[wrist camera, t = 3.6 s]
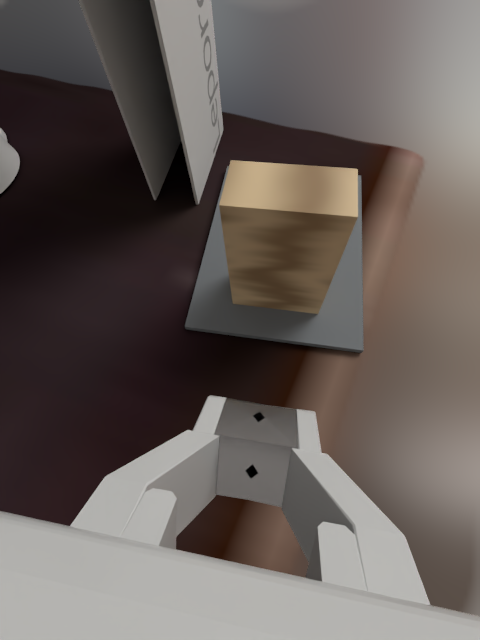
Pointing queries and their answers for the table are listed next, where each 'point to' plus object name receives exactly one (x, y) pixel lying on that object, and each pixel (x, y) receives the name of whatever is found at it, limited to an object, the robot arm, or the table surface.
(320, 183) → the wood block
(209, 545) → the table surface
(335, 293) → the rubber mat
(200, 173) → the brochure
